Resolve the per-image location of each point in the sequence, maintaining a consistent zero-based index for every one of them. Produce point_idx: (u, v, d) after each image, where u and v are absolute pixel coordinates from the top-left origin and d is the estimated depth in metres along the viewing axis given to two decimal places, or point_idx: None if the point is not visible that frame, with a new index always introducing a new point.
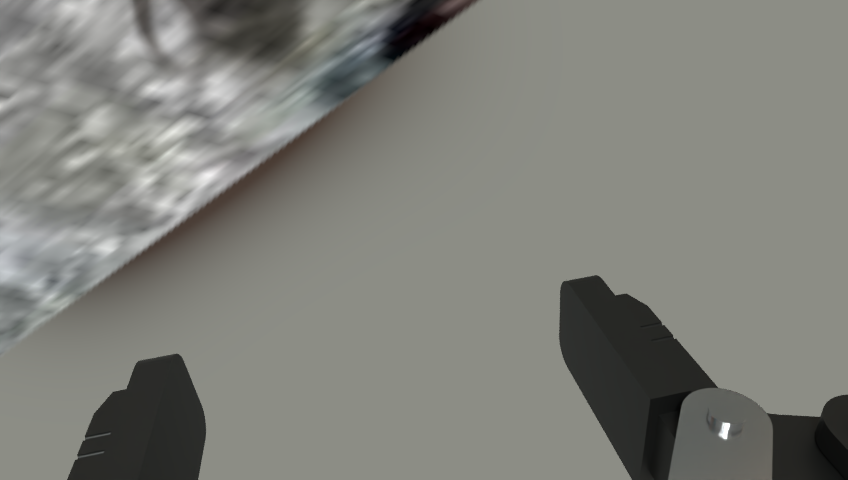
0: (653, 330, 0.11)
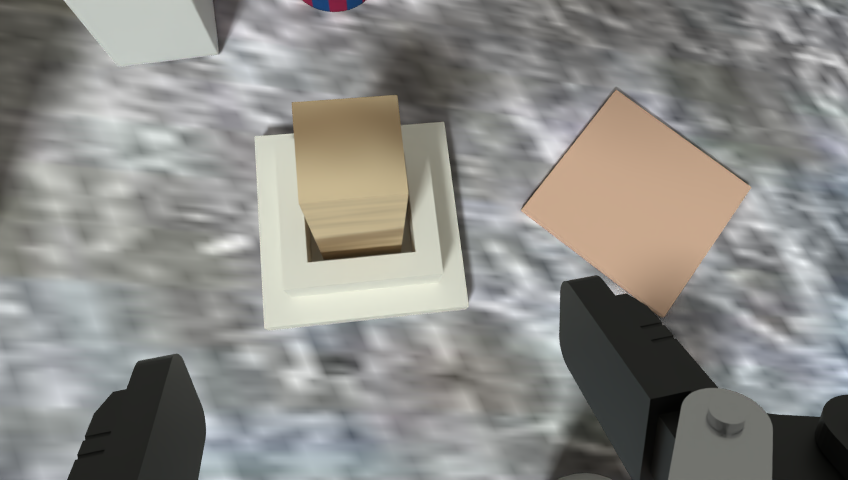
0: (653, 330, 0.11)
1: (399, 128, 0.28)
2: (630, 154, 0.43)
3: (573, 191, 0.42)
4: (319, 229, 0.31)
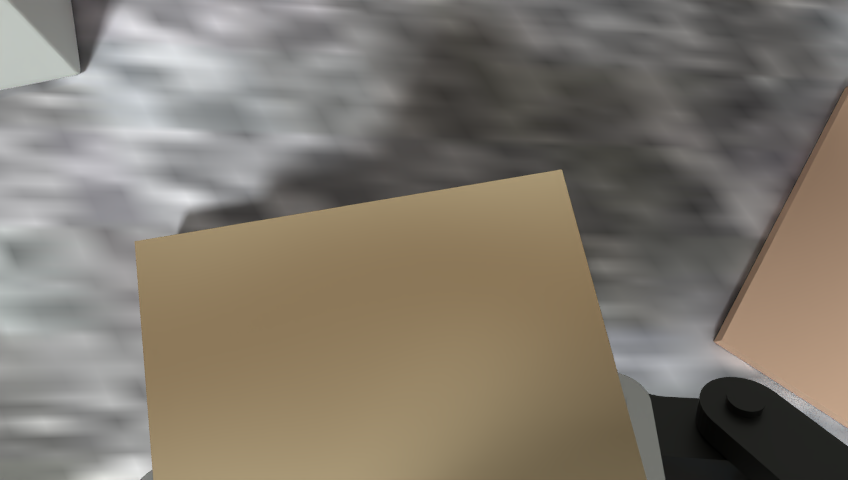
0: None
1: (595, 313, 0.07)
2: None
3: (816, 294, 0.21)
4: None
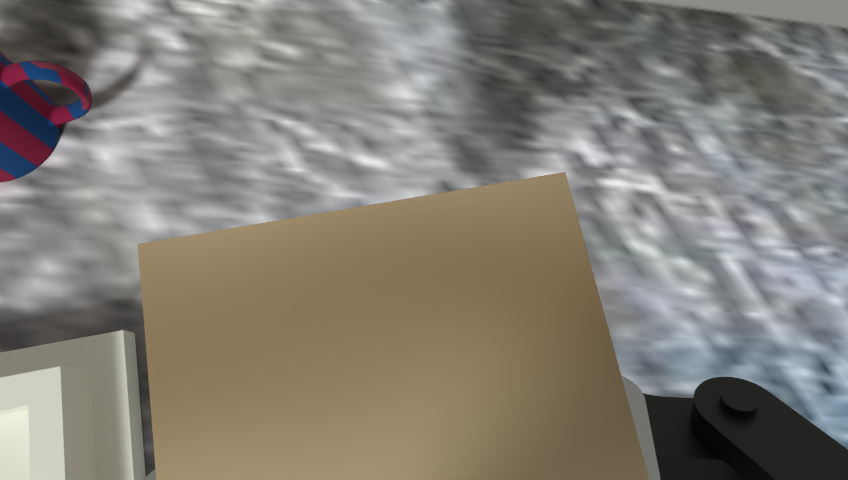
0: None
1: (598, 316, 0.07)
2: None
3: None
4: None
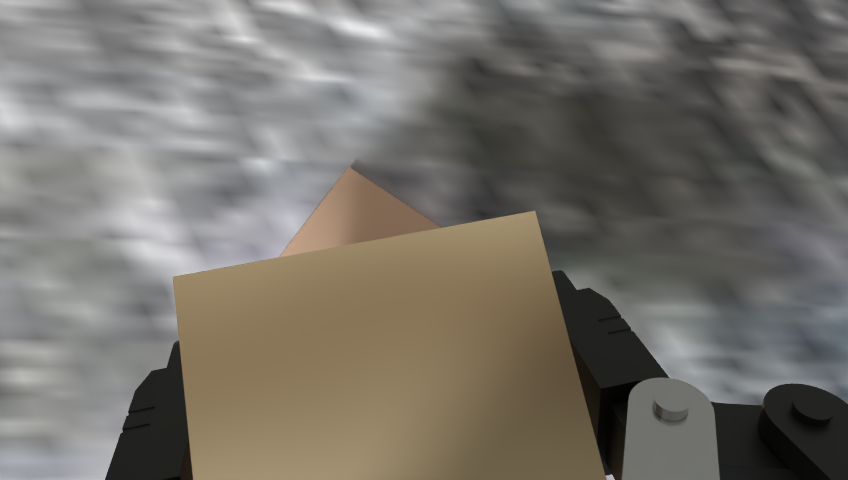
0: (612, 323, 0.11)
1: (562, 334, 0.08)
2: None
3: None
4: None
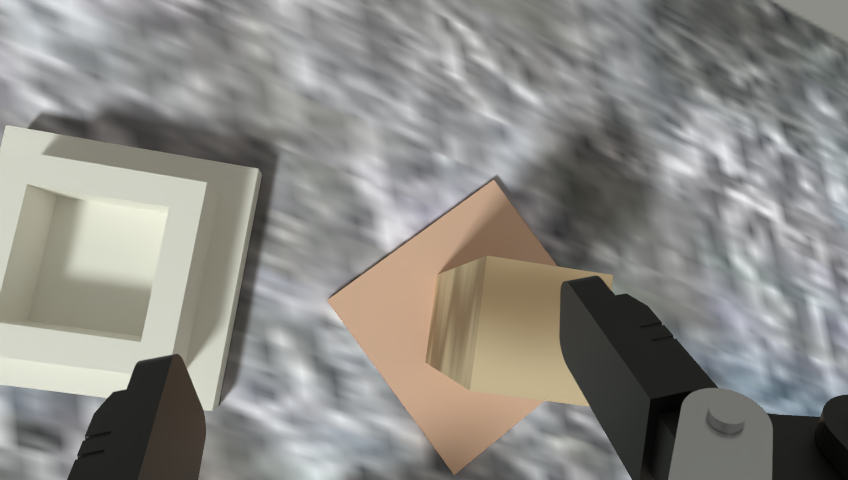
0: (653, 330, 0.11)
1: None
2: None
3: (397, 295, 0.34)
4: None
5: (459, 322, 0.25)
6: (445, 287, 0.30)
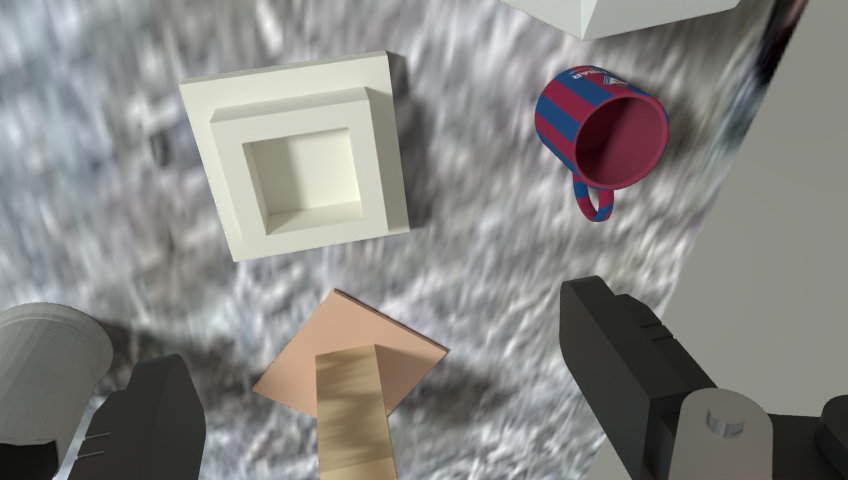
0: (653, 330, 0.11)
1: None
2: (388, 364, 0.52)
3: (352, 327, 0.49)
4: None
5: (351, 425, 0.43)
6: (367, 373, 0.47)
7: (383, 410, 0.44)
